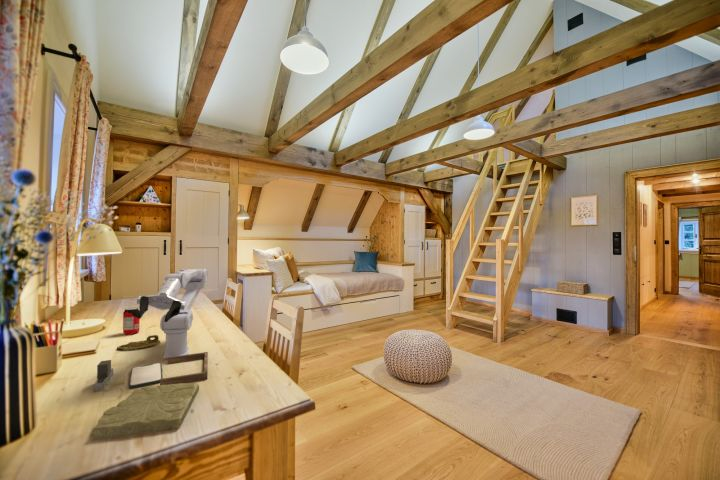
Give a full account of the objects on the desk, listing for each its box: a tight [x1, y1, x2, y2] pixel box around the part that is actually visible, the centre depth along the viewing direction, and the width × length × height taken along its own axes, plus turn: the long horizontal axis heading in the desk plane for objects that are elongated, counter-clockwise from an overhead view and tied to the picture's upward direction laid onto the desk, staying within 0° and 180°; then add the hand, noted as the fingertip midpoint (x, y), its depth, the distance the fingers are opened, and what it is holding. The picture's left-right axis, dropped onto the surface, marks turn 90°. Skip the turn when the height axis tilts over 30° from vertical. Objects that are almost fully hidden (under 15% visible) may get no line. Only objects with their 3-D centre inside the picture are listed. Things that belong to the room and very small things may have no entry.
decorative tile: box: [90, 382, 200, 441], centre depth 82 cm, size 19×20×4 cm
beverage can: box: [122, 306, 141, 336], centre depth 151 cm, size 6×6×12 cm
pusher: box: [93, 359, 114, 393], centre depth 99 cm, size 12×2×6 cm, turn 25°
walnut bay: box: [159, 351, 209, 385], centre depth 108 cm, size 21×13×2 cm, turn 25°
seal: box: [116, 334, 161, 352], centre depth 132 cm, size 9×5×15 cm
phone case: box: [128, 362, 164, 390], centre depth 103 cm, size 9×2×16 cm
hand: (152, 317), depth 102 cm, fingers open, 7 cm apart
